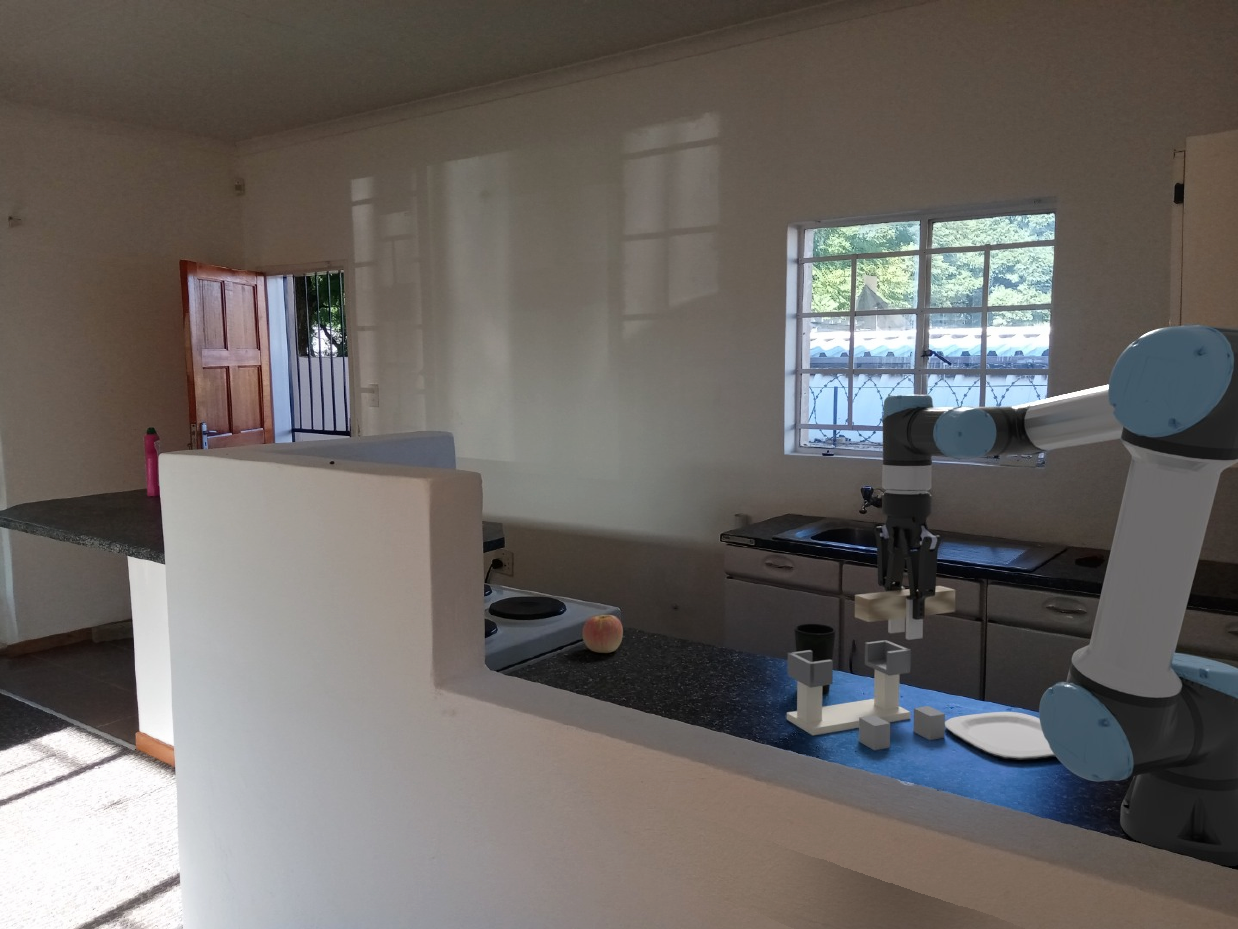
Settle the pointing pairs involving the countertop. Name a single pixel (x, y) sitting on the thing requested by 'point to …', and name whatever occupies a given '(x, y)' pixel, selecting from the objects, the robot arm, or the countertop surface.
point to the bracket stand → (846, 716)
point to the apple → (603, 633)
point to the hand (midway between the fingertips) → (905, 634)
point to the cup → (816, 643)
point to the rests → (925, 724)
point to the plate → (1002, 734)
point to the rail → (900, 604)
